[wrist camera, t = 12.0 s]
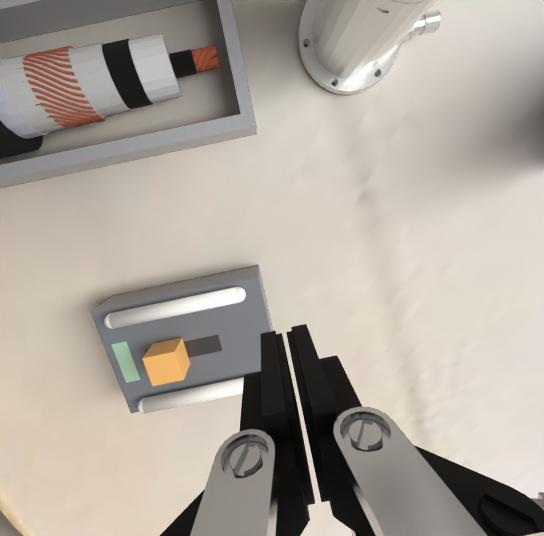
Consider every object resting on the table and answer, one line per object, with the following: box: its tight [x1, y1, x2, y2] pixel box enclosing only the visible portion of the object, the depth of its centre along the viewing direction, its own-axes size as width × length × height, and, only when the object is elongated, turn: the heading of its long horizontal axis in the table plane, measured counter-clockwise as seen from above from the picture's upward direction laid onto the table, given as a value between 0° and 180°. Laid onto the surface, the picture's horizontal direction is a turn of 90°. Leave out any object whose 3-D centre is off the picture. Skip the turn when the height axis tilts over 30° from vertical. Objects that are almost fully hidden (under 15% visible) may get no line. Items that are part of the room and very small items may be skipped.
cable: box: [0, 33, 220, 159], centre depth 32 cm, size 10×34×10 cm, turn 104°
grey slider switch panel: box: [91, 265, 273, 413], centre depth 41 cm, size 22×16×6 cm
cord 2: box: [138, 377, 244, 414], centre depth 39 cm, size 18×2×2 cm, turn 101°
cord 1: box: [104, 287, 246, 329], centre depth 36 cm, size 18×2×2 cm, turn 101°
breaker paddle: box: [142, 338, 190, 386], centre depth 37 cm, size 4×4×4 cm
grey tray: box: [0, 0, 257, 188], centre depth 33 cm, size 41×17×5 cm, turn 101°
